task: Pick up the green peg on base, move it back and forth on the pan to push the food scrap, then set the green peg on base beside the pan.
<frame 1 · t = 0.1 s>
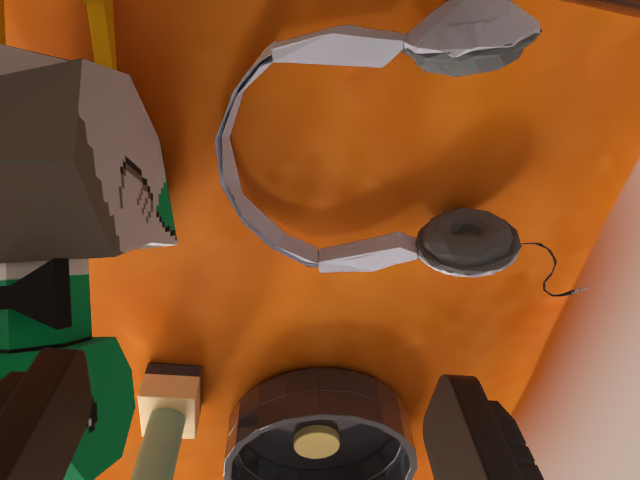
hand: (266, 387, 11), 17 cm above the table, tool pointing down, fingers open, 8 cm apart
toy: (108, 126, 25), on the table
pan: (318, 422, 40), on the table
food scrap: (316, 437, 41), resting on pan
green peg on base: (176, 385, 37), on the table
headphones: (398, 161, 27), on the table
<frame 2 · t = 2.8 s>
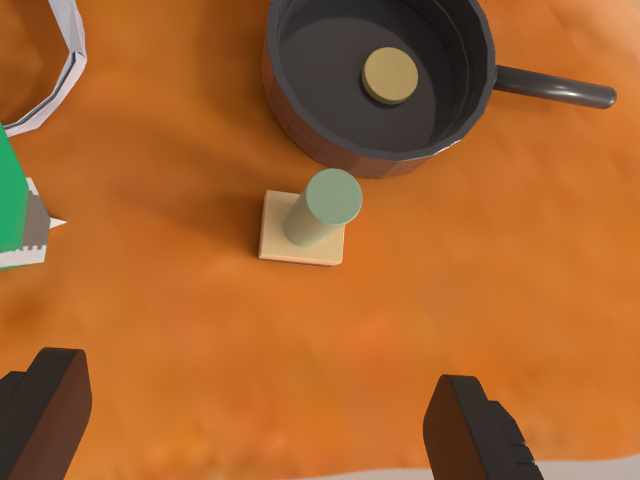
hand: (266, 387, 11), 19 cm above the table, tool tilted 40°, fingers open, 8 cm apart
pan: (366, 78, 34), on the table
food scrap: (388, 78, 34), resting on pan
green peg on base: (297, 233, 31), on the table
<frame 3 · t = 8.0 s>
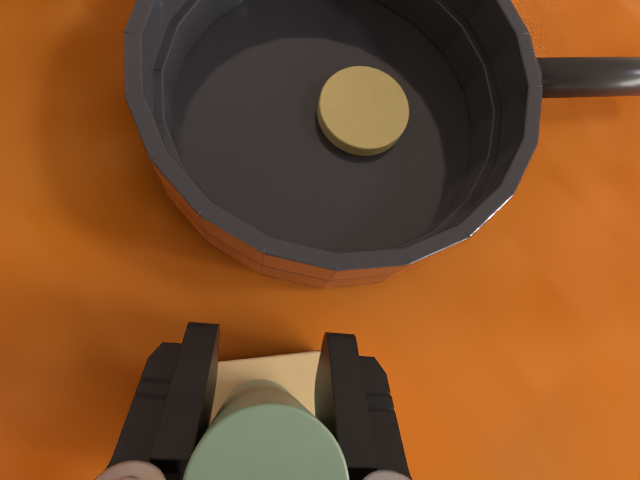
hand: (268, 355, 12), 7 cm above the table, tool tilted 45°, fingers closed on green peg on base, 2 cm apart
pan: (326, 121, 21), on the table
food scrap: (360, 115, 21), resting on pan
green peg on base: (258, 411, 18), on the table, touching gripper
when the fingers open (7 cm above the table, at t = 24.8 s): green peg on base stays where it is, on the table.
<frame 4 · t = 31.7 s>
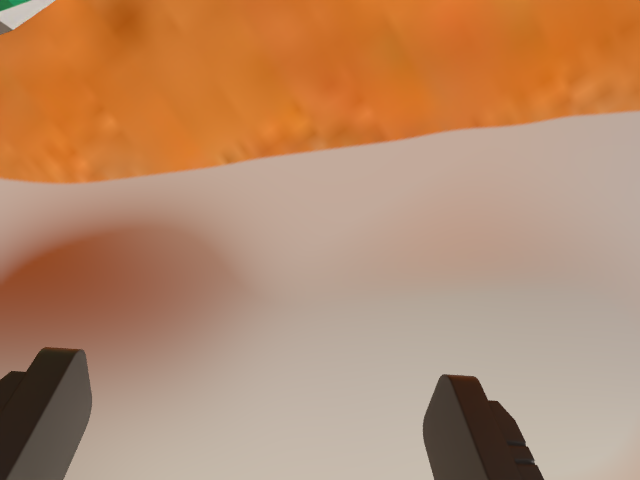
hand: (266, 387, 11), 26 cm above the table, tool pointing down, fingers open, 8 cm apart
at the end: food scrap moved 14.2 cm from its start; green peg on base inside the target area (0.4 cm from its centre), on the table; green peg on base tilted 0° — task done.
